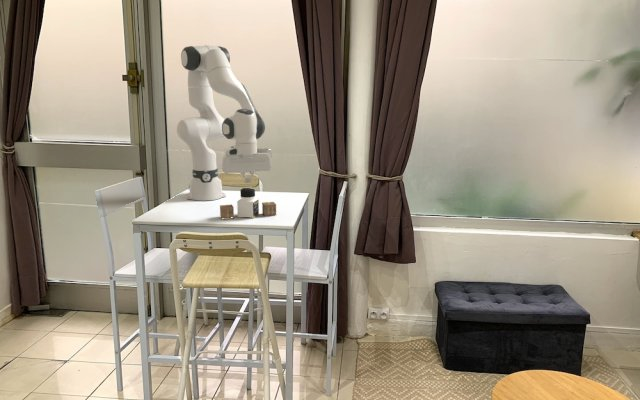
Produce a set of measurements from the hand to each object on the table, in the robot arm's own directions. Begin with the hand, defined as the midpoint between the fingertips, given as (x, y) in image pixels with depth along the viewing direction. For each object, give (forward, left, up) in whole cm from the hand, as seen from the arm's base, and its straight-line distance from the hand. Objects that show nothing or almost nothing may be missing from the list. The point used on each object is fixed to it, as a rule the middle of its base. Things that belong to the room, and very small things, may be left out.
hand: (247, 182), depth 225 cm
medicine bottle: (0, 0, -15) cm, 15 cm away
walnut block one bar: (0, -9, -15) cm, 17 cm away
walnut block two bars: (0, +9, -15) cm, 17 cm away
